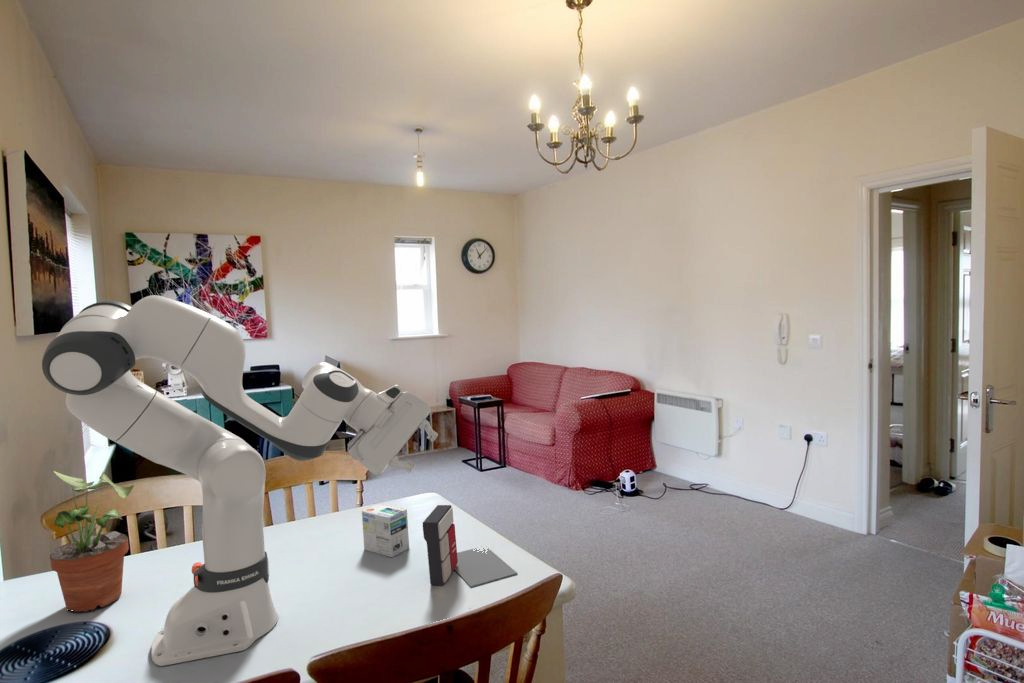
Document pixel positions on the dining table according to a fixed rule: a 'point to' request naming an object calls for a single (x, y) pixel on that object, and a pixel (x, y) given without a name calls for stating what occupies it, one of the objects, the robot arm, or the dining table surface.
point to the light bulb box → (385, 530)
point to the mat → (481, 567)
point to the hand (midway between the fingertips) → (424, 453)
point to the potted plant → (90, 554)
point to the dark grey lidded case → (440, 543)
